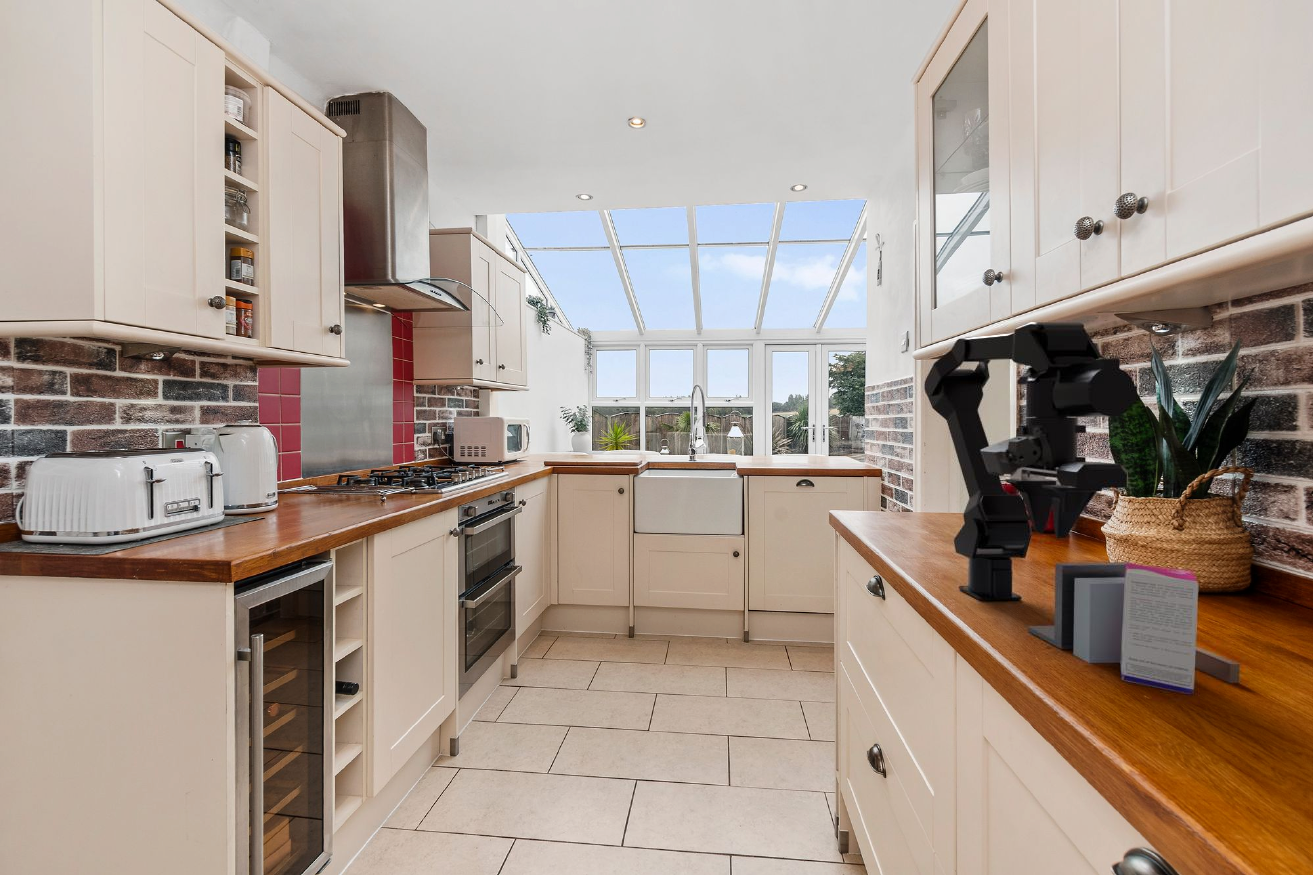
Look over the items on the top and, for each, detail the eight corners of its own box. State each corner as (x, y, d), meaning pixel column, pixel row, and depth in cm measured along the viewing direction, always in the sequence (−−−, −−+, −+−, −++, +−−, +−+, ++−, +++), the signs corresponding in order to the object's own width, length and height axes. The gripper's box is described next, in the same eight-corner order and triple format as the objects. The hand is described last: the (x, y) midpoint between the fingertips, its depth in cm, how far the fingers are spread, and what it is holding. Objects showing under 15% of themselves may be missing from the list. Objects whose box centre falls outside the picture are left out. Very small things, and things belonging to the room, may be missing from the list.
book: (1073, 654, 69) (1074, 578, 69) (1140, 653, 70) (1141, 577, 69) (1088, 663, 67) (1090, 583, 67) (1158, 661, 67) (1160, 582, 67)
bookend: (1027, 630, 77) (1028, 553, 77) (1095, 629, 77) (1096, 552, 77) (1061, 649, 71) (1062, 565, 70) (1135, 647, 71) (1136, 564, 71)
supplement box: (1197, 696, 59) (1199, 581, 58) (1120, 680, 62) (1122, 572, 62) (1190, 676, 63) (1192, 569, 63) (1120, 662, 67) (1121, 561, 67)
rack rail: (1114, 631, 77) (1114, 616, 77) (1121, 631, 77) (1122, 616, 77) (1229, 683, 62) (1230, 664, 62) (1239, 683, 62) (1239, 663, 62)
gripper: (953, 418, 88) (953, 523, 88) (1039, 417, 69) (1037, 551, 69) (1028, 417, 88) (1026, 523, 88) (1132, 417, 69) (1130, 550, 70)
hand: (1049, 535), depth 79 cm, fingers open, 4 cm apart
